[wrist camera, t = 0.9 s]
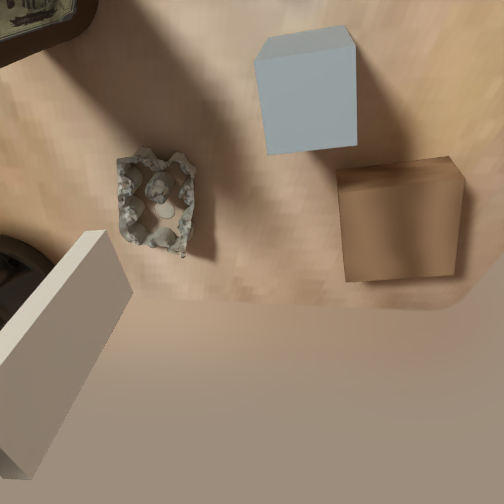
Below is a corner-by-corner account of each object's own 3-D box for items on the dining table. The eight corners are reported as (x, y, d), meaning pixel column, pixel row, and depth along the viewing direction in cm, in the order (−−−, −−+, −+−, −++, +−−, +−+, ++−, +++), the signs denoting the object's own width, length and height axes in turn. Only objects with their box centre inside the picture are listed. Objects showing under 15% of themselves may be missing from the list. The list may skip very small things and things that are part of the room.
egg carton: (195, 241, 45) (186, 263, 42) (130, 228, 45) (116, 249, 42) (203, 154, 39) (193, 172, 36) (128, 139, 39) (111, 155, 36)
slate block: (277, 112, 36) (267, 155, 28) (268, 37, 32) (254, 61, 24) (346, 103, 35) (357, 145, 26) (344, 24, 31) (355, 45, 23)
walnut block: (342, 253, 44) (345, 282, 40) (336, 169, 38) (339, 193, 34) (440, 245, 42) (453, 274, 38) (447, 154, 36) (465, 178, 32)
